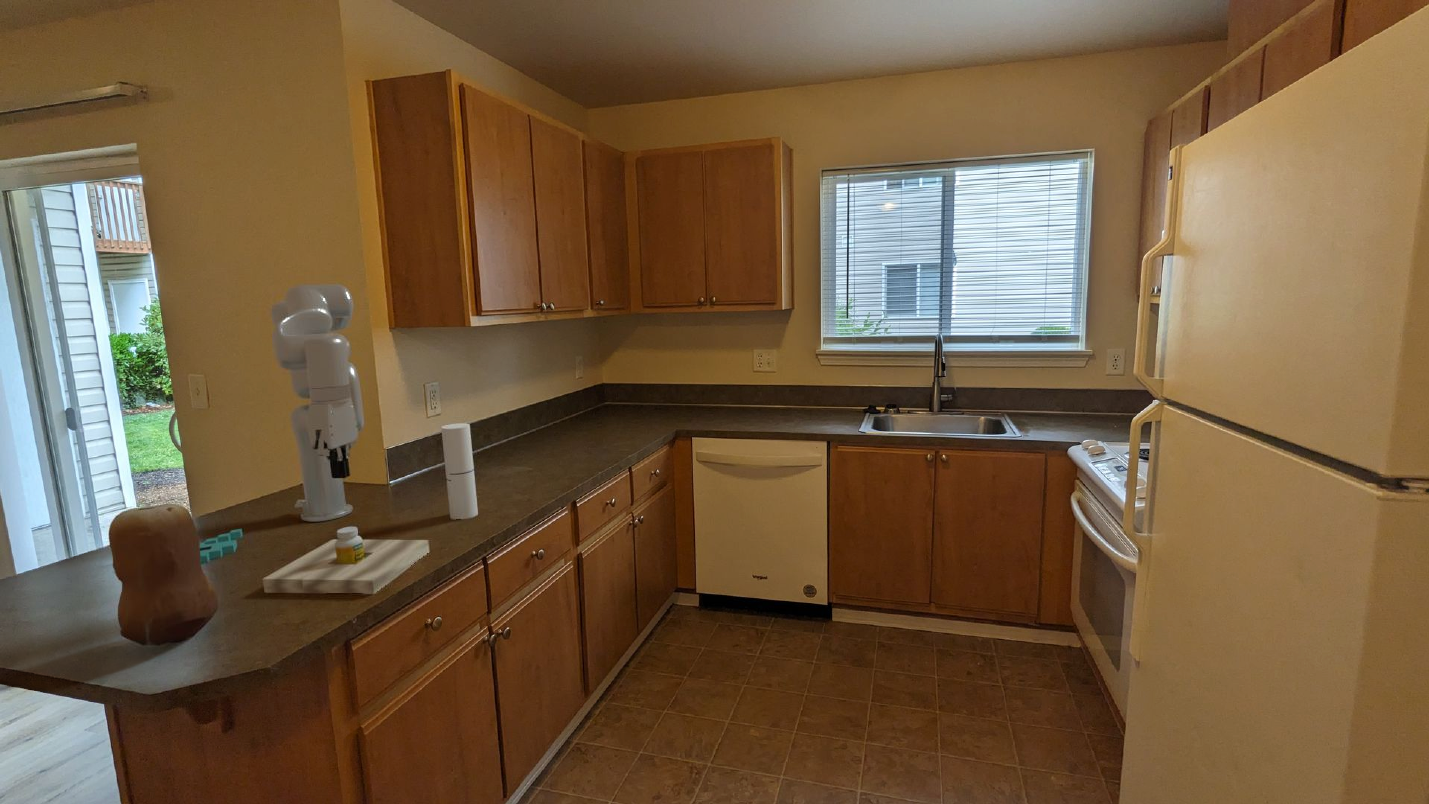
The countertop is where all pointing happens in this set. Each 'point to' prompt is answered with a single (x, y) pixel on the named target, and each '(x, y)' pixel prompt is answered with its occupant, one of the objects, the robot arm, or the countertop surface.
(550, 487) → the countertop surface
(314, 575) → the socket board
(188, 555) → the butternut squash
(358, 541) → the supplement bottle
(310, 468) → the robot arm
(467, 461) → the cylindrical container
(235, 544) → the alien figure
